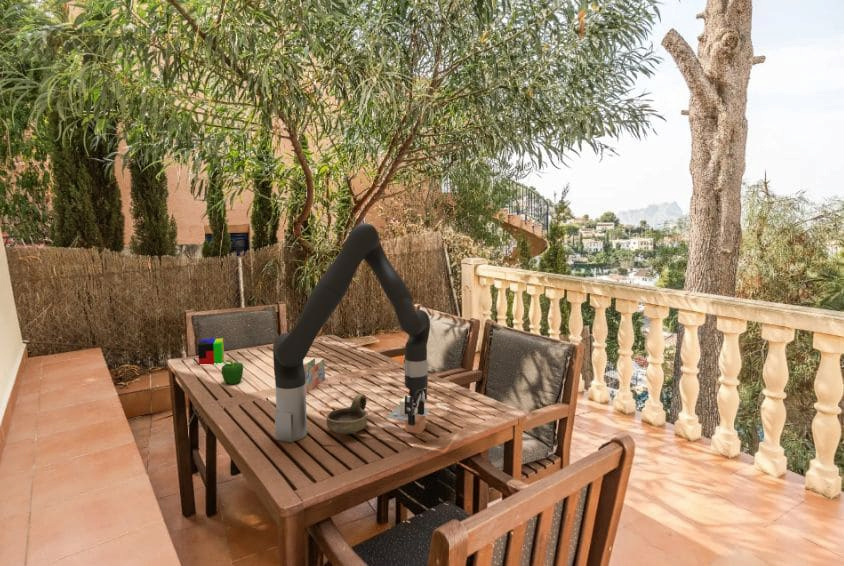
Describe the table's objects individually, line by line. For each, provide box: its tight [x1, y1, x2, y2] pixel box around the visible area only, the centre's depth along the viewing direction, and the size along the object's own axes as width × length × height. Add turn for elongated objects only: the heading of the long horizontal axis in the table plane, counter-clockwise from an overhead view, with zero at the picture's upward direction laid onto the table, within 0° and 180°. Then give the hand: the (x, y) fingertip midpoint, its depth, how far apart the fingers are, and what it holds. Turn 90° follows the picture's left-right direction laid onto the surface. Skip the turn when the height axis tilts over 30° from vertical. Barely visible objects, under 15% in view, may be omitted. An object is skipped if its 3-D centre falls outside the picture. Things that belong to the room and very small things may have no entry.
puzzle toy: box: [197, 337, 225, 365], centre depth 226 cm, size 10×10×10 cm
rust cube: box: [405, 415, 427, 435], centre depth 153 cm, size 5×5×5 cm
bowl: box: [325, 393, 369, 435], centre depth 154 cm, size 14×18×10 cm
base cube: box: [399, 396, 418, 416], centre depth 165 cm, size 5×5×5 cm
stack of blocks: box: [303, 356, 326, 394], centre depth 193 cm, size 21×6×12 cm, turn 167°
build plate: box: [386, 404, 431, 422], centre depth 166 cm, size 12×12×2 cm
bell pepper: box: [221, 359, 244, 385], centre depth 197 cm, size 8×8×10 cm
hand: (416, 419), depth 153 cm, fingers open, 8 cm apart
